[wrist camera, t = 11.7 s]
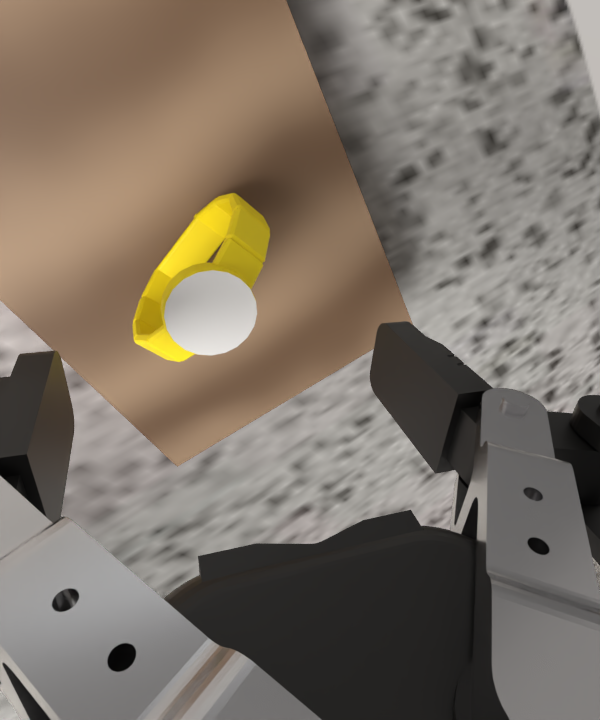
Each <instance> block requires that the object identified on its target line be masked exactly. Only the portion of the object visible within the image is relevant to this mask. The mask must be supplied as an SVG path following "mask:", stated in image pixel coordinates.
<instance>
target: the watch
mask: <svg viewBox="0 0 600 720" xmlns="http://www.w3.org/2000/svg"><path fill="white" fill-rule="evenodd" d="M269 238H270V228H269V226H268V224H267V222H266V221H265V219H264V217H263V216H262V215H261V214H260V213H259V212H258V211H256V210H255V209H254V208H253V207H252V206H250V205H249V204H248V203H247V202H246V201H244V200H243V199H242V198H241V197H240V196H239V195H237V194H235V193H230V194H226V195H222V196H218V197H217V198H215V199H214V200H212V201H211V202H210V203H209V204H208V205H206V206H205V207H204V208H203V209H202V210H200V211H199V212H198V213H197V214H195V216H194V219H193V221H192V222H191V223H190V224H189V226H188V227H187V228H186V230H185V231H184V232H183V234H182V235H181V236H180V238H179V239H178V240H177V242H176V243H175V244H174V246H173V247H172V248H171V250H170V251H169V252H168V254H167V255H166V256H165V258H164V259H163V260H162V262H161V263H160V264H159V265H158V267H157V268H156V269H155V270H154V272H153V274H152V276H151V278H150V280H149V282H148V284H147V286H146V288H145V290H144V292H143V294H142V298H141V299H140V300H139V304H138V307H137V310H136V313H135V316H134V319H133V324H132V326H133V337H134V342H135V343H136V344H138V345H140V346H142V347H143V348H145V349H147V350H149V351H151V352H153V353H155V354H157V355H158V356H160V357H162V358H164V359H166V360H170V361H176V362H181V361H185V360H187V359H188V358H190V357H191V356H193V355H195V354H197V355H210V356H212V355H217V354H222V353H226V352H228V351H230V350H232V349H234V348H236V347H238V346H239V345H240V344H241V343H242V342H243V341H244V340H245V339H246V338H248V336H249V334H250V333H251V331H252V329H253V327H254V325H255V321H256V317H257V306H256V299H255V297H254V294H253V292H252V290H251V289H252V287H253V285H254V283H255V281H256V279H257V277H258V275H259V273H260V271H261V269H262V267H263V262H265V258H266V253H267V248H268V243H269ZM223 241H224V242H223ZM222 242H223V244H222V245H221V243H222ZM220 245H221V247H220V249H219V251H218V253H217V255H216V257H215V259H214V260H213V262H212V263H207V261H208V260H209V259H210V257H211V256H212V255H213V254H214V252H215V251H216V250H217V249H218V247H219V246H220Z"/></svg>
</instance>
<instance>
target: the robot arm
mask: <svg viewBox="0 0 600 720" xmlns="http://www.w3.org/2000/svg"><path fill="white" fill-rule="evenodd" d="M370 381H371V386H372V389H373V391H374V393H375V395H376V396H377V397H378V399H379V400H380V401H381V403H382V404H383V405H384V407H385V408H386V409H387V411H388V412H389V413H390V414H391V416H392V417H393V418H394V420H395V421H396V422H397V424H398V425H399V426H400V428H401V429H402V430H403V431H404V433H405V434H406V435H407V437H408V438H409V439H410V441H411V442H412V443H413V445H414V446H415V447H416V449H417V450H418V451H419V452H420V454H421V455H422V456H423V458H424V459H425V460H426V462H427V463H428V464H429V466H430V467H431V468H432V470H433V471H434V472H435V473H441V472H446V471H451V470H456V472H457V473H458V474H457V477H456V480H455V484H454V493H453V503H452V513H451V523H450V530H446V529H441V528H436V527H429V526H421V525H420V524H419V522H418V521H417V519H416V518H415V516H414V514H413V513H412V511H411V510H408V511H404V512H399V513H394V514H390V515H385V516H381V517H376V518H371V519H367V520H363V521H361V522H359V523H357V524H355V525H353V526H351V527H349V528H347V529H345V530H343V531H341V532H339V533H338V534H336V535H334V536H332V537H330V538H328V539H326V540H324V541H322V542H319V543H316V544H252V545H248V546H243V547H238V548H234V549H229V550H225V551H220V552H216V553H211V554H206V555H202V556H198V560H199V573H200V575H199V576H197V577H195V578H193V579H191V580H189V581H187V582H186V583H184V584H183V585H181V586H179V587H178V588H176V589H175V590H174V591H172V592H171V593H170V594H169V595H167V596H166V597H165V598H164V599H163V598H162V597H161V596H159V595H158V594H157V593H156V592H155V591H154V590H153V589H151V588H150V587H149V586H148V585H147V584H146V583H144V582H143V581H142V580H141V579H140V578H139V577H138V576H136V575H135V574H134V573H133V572H132V571H131V570H129V569H128V568H127V567H126V566H125V565H124V564H123V563H121V562H120V561H119V560H118V559H117V558H116V557H114V556H113V555H112V554H111V553H110V552H109V551H108V550H106V549H105V548H104V547H103V546H102V545H101V544H99V543H98V542H97V541H96V540H95V539H94V538H92V537H91V536H90V535H89V534H88V533H87V532H86V531H84V530H83V529H82V528H81V527H80V526H79V525H77V524H76V523H75V522H74V521H73V520H71V519H69V518H67V517H61V511H62V504H63V498H64V492H65V485H66V479H67V473H68V467H69V460H70V454H71V448H72V441H73V435H74V415H73V408H72V403H71V399H70V395H69V391H68V386H67V382H66V378H65V373H64V369H63V365H62V361H61V357H60V355H59V353H58V351H47V352H36V353H24V354H20V355H19V356H18V359H17V361H16V364H15V366H14V369H13V371H12V374H11V376H10V377H2V378H0V690H1V691H2V692H3V694H4V695H5V697H6V698H7V699H8V701H9V702H10V704H11V705H12V707H13V708H14V710H15V711H16V713H17V714H18V716H19V718H20V719H21V720H600V591H599V586H598V582H597V577H596V573H595V568H594V563H593V559H592V557H593V558H594V559H595V560H596V561H597V562H598V564H599V565H600V396H599V395H587V396H584V397H581V398H580V399H579V401H578V403H577V405H576V407H575V409H574V412H573V413H560V412H547V411H546V409H545V407H544V406H543V405H542V404H541V403H540V402H539V401H538V400H536V399H535V398H533V397H531V396H530V395H528V394H525V393H523V392H520V391H517V390H513V389H508V388H492V387H491V386H490V385H489V384H487V383H486V382H485V381H484V380H483V379H482V378H481V377H479V376H478V375H477V374H476V373H475V372H474V371H473V370H471V369H470V368H469V367H468V366H467V365H464V363H463V362H462V361H461V360H460V359H459V358H458V357H454V354H453V353H452V352H451V351H449V350H448V349H447V348H446V347H445V346H444V345H442V344H440V343H438V342H436V341H434V340H432V339H430V338H428V337H426V336H425V335H424V334H422V333H421V332H420V331H419V330H418V329H417V328H416V327H415V326H413V325H412V324H411V323H410V322H408V321H403V322H391V323H382V324H380V326H379V327H378V329H377V333H376V339H375V346H374V352H373V358H372V364H371V370H370ZM60 517H61V518H60Z"/></svg>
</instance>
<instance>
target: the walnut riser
mask: <svg viewBox="0 0 600 720" xmlns="http://www.w3.org/2000/svg"><path fill="white" fill-rule="evenodd" d="M230 193H235V194H237V195H239V196H240V197H241V198H242V199H243V200H244V201H246V202H247V203H248V204H249V205H250V206H252V207H253V208H254V209H255V210H256V211H258V212H259V213H260V214H261V215H262V216H263V217H264V219H265V221H266V222H267V224H268V226H269V228H270V238H269V243H268V248H267V253H266V258H265V262H263V267H262V269H261V271H260V273H259V275H258V277H257V279H256V281H255V283H254V285H253V287H252V289H251V290H252V292H253V294H254V297H255V299H256V306H257V317H256V321H255V325H254V327H253V329H252V331H251V333H250V334H249V336H248V338H246V339H245V340H244V341H243V342H242V343H241V344H240V345H239V346H238V347H236V348H234V349H232V350H230V351H228V352H226V353H222V354H217V355H212V356H210V355H197V354H195V355H193V356H191V357H190V358H188V359H187V360H185V361H181V362H176V361H170V360H166V359H164V358H162V357H160V356H158V355H157V354H155V353H153V352H151V351H149V350H147V349H145V348H143V347H142V346H140V345H138V344H136V343H135V342H134V337H133V326H132V324H133V319H134V316H135V313H136V310H137V307H138V304H139V300H140V299H141V298H142V294H143V292H144V290H145V288H146V286H147V284H148V282H149V280H150V278H151V276H152V274H153V272H154V270H155V269H156V268H157V267H158V265H159V264H160V263H161V262H162V260H163V259H164V258H165V256H166V255H167V254H168V252H169V251H170V250H171V248H172V247H173V246H174V244H175V243H176V242H177V240H178V239H179V238H180V236H181V235H182V234H183V232H184V231H185V230H186V228H187V227H188V226H189V224H190V223H191V222H192V221H193V219H194V216H195V214H197V213H198V212H199V211H200V210H202V209H203V208H204V207H205V206H206V205H208V204H209V203H210V202H211V201H212V200H214V199H215V198H217V197H218V196H222V195H226V194H230ZM223 242H224V241H223ZM223 242H222V243H221V245H222V244H223ZM221 245H220V246H219V247H218V249H217V250H216V251H215V252H214V254H213V255H212V256H211V257H210V259H209V260H208V261H207V263H212V262H213V260H214V259H215V257H216V255H217V253H218V251H219V249H220V247H221ZM0 300H1V301H2V302H3V303H4V304H5V305H6V306H7V307H8V308H9V309H10V310H11V311H12V312H13V313H14V314H15V315H17V316H18V317H19V318H20V319H21V320H22V321H23V322H24V323H25V324H26V325H27V326H28V327H29V328H30V329H31V330H33V331H34V332H35V333H36V334H37V335H38V336H39V337H40V338H41V339H42V340H43V341H44V342H45V343H46V344H47V345H48V346H50V347H51V348H52V349H53V350H54V351H58V353H59V355H60V357H61V358H62V359H63V360H64V361H65V362H67V363H68V364H69V365H70V366H71V367H72V368H73V369H74V370H75V371H76V372H77V373H78V374H79V375H80V376H81V377H83V378H84V379H85V380H86V381H87V382H88V383H89V384H90V385H91V386H92V387H93V388H94V389H95V390H96V391H97V392H98V393H100V394H101V395H102V396H103V397H104V398H105V399H106V400H107V401H108V402H109V403H110V404H111V405H112V406H113V407H114V408H115V409H117V410H118V411H119V412H120V413H121V414H122V415H123V416H124V417H125V418H126V419H127V420H128V421H129V422H130V423H131V424H133V425H134V426H135V427H136V428H137V429H138V430H139V431H140V432H141V433H142V434H143V435H144V436H145V437H146V438H147V439H148V440H150V441H151V442H152V443H153V444H154V445H155V446H156V447H157V448H158V449H159V450H160V451H161V452H162V453H163V454H164V455H165V456H167V457H168V458H169V459H170V460H171V461H172V462H173V463H174V464H175V465H176V466H179V465H181V464H182V463H184V462H186V461H187V460H189V459H191V458H192V457H194V456H196V455H197V454H199V453H201V452H202V451H204V450H206V449H207V448H209V447H211V446H212V445H214V444H216V443H217V442H219V441H221V440H222V439H224V438H226V437H227V436H229V435H231V434H232V433H234V432H236V431H237V430H239V429H241V428H242V427H244V426H246V425H247V424H249V423H251V422H252V421H254V420H256V419H257V418H259V417H261V416H262V415H264V414H266V413H267V412H269V411H271V410H272V409H274V408H276V407H277V406H279V405H281V404H282V403H284V402H286V401H287V400H289V399H291V398H292V397H294V396H296V395H297V394H299V393H301V392H302V391H304V390H306V389H307V388H309V387H311V386H312V385H314V384H316V383H317V382H319V381H321V380H322V379H324V378H326V377H327V376H329V375H331V374H332V373H334V372H336V371H337V370H339V369H341V368H342V367H344V366H346V365H347V364H349V363H351V362H352V361H354V360H356V359H357V358H359V357H361V356H362V355H364V354H366V353H367V352H369V351H371V350H372V349H374V346H375V339H376V333H377V329H378V327H379V326H380V324H382V323H391V322H403V321H408V322H410V323H411V324H412V321H411V319H410V316H409V314H408V311H407V308H406V306H405V303H404V301H403V298H402V296H401V293H400V290H399V288H398V285H397V283H396V280H395V278H394V275H393V273H392V270H391V267H390V265H389V262H388V260H387V257H386V255H385V252H384V250H383V247H382V244H381V242H380V239H379V237H378V234H377V232H376V229H375V226H374V224H373V221H372V219H371V216H370V214H369V211H368V209H367V206H366V203H365V201H364V198H363V196H362V193H361V191H360V188H359V186H358V183H357V180H356V178H355V175H354V173H353V170H352V168H351V165H350V162H349V160H348V157H347V155H346V152H345V150H344V147H343V145H342V142H341V139H340V137H339V134H338V132H337V129H336V127H335V124H334V122H333V119H332V116H331V114H330V111H329V109H328V106H327V104H326V101H325V98H324V96H323V93H322V91H321V88H320V86H319V83H318V81H317V78H316V75H315V73H314V70H313V68H312V65H311V63H310V60H309V58H308V55H307V52H306V50H305V47H304V45H303V42H302V40H301V37H300V34H299V32H298V29H297V27H296V24H295V22H294V19H293V17H292V14H291V11H290V9H289V6H288V4H287V1H286V0H0ZM412 325H413V324H412Z"/></svg>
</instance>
